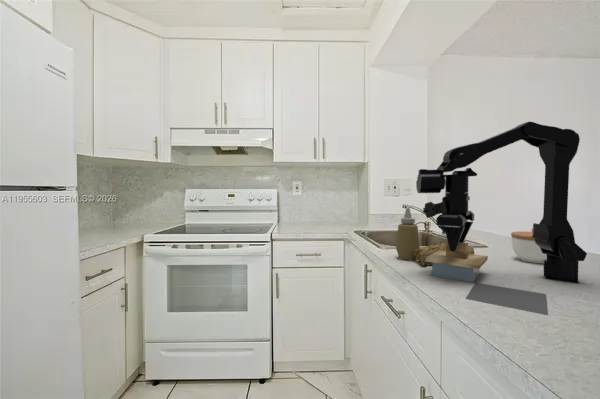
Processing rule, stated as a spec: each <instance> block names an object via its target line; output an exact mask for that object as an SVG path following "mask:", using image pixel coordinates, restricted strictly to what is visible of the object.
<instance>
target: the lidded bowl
mask: <svg viewBox="0 0 600 399" xmlns="http://www.w3.org/2000/svg"><path fill="white" fill-rule="evenodd" d="M533 233H534V229H533V227H532V228H531V231H512V232H511V233H510V235H511V246H512V249H513V252H514V254H516V256H517V257H518V258H519V259H520V261H523V262H527V263H533V264H544V260H547V254H543V253H542V251H541V249H540V247H539V246H538V245H537V244H536V243H535V238H532V236H533Z"/></svg>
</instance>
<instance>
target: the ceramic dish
mask: <svg viewBox="0 0 600 399" xmlns="http://www.w3.org/2000/svg"><path fill="white" fill-rule="evenodd" d="M431 266H432V270H431V271H432V273H431V275H432V276H434V277H439V278H444V279H450V280H458V281H461V282H462V281H463V282H469V283H474V282H475V281H476V279H477V277H478V276H479V275H480V269H473V268H467V267H460V266H453V265H447V264H440V263H433V262H432V265H431Z"/></svg>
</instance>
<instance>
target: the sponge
mask: <svg viewBox="0 0 600 399" xmlns="http://www.w3.org/2000/svg"><path fill="white" fill-rule="evenodd" d="M438 250H443V251H446V242H445V243H443V242H442V243H438V244H436V245H435V244H429V245H427V246H423V247H420V249H416V250H415V253H414V256H415V257H416V259H415V260H417V261H418V262H419V263H420V264H421V265H422V266H424V267H428V266H432V262H427V261H425V259H426V257H428V256H429V255H431V254H433V253H435V252H437V251H438ZM468 254H475V249H474V248H473V247H472V246H470V245H468Z"/></svg>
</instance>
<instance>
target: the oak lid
mask: <svg viewBox="0 0 600 399" xmlns="http://www.w3.org/2000/svg"><path fill="white" fill-rule="evenodd" d="M445 243H446V251H443V250H438V251H437V252H435V253H433V254H431V255H429V256H428V257H426V259H425V261H427V262H433V263H440V264H447V265H453V266H460V267H467V268H473V269H479V270H480V269H481V268H482V267H483V265H484V264H486V262H487V261H488V258H489V257H488V255H483V254H475V253H474V254H468V246H469V242H459V243H458V245H457V248H456V250H455V251H450V248H449V244H448V241H447V242H445Z"/></svg>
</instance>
